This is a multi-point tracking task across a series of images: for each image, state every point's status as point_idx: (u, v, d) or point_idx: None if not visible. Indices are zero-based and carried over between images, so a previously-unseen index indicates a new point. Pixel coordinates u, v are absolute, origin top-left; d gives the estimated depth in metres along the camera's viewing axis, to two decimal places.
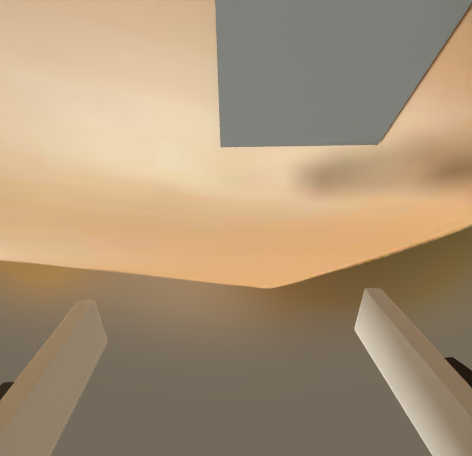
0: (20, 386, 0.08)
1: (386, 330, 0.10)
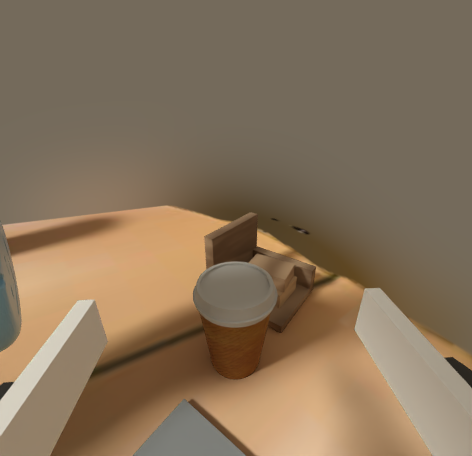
0: (20, 386, 0.08)
1: (386, 329, 0.10)
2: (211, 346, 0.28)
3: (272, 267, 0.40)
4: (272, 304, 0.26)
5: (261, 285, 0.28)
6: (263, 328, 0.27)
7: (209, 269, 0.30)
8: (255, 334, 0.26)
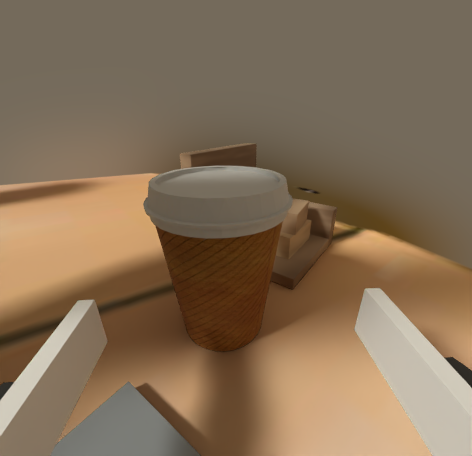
0: (20, 386, 0.08)
1: (386, 330, 0.10)
2: (179, 292, 0.16)
3: None
4: (285, 206, 0.14)
5: (264, 183, 0.16)
6: (268, 255, 0.15)
7: (178, 170, 0.18)
8: (253, 261, 0.14)
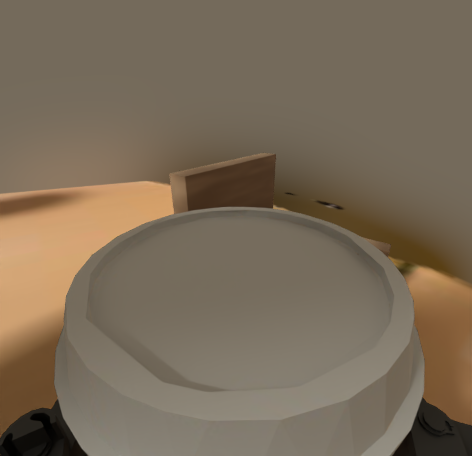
0: None
1: None
2: None
3: None
4: (413, 351, 0.06)
5: (339, 268, 0.07)
6: None
7: (157, 222, 0.10)
8: None
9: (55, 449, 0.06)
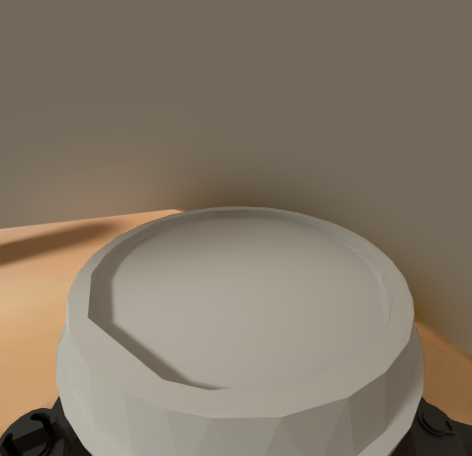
0: None
1: None
2: None
3: None
4: (413, 350, 0.06)
5: (339, 267, 0.07)
6: None
7: (157, 222, 0.10)
8: None
9: (55, 449, 0.06)
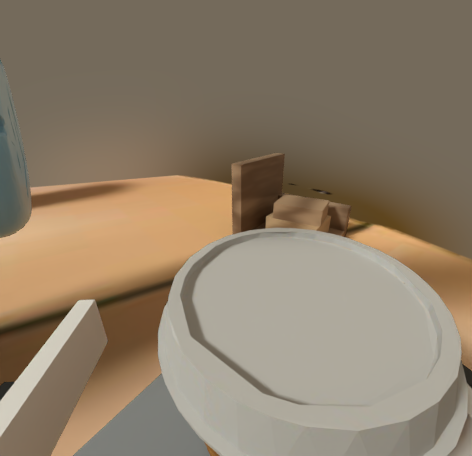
0: (21, 386, 0.08)
1: None
2: None
3: (305, 203, 0.36)
4: (457, 379, 0.06)
5: (388, 297, 0.08)
6: None
7: (218, 243, 0.11)
8: None
9: None
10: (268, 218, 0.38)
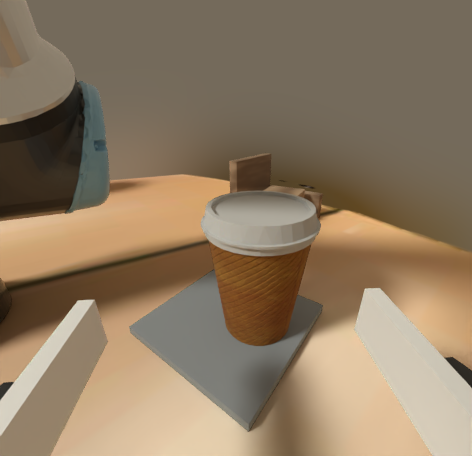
0: (20, 386, 0.08)
1: (386, 329, 0.10)
2: (223, 294, 0.21)
3: (286, 191, 0.48)
4: (313, 232, 0.17)
5: (297, 211, 0.19)
6: (297, 270, 0.19)
7: (227, 195, 0.22)
8: (284, 275, 0.18)
9: None
10: None
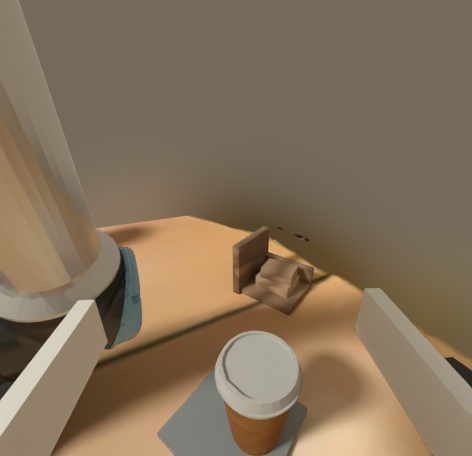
0: (20, 386, 0.08)
1: (386, 330, 0.10)
2: (230, 421, 0.28)
3: (281, 268, 0.55)
4: (295, 395, 0.25)
5: (285, 368, 0.26)
6: (284, 416, 0.26)
7: (233, 339, 0.29)
8: (275, 423, 0.25)
9: None
10: (257, 277, 0.56)
